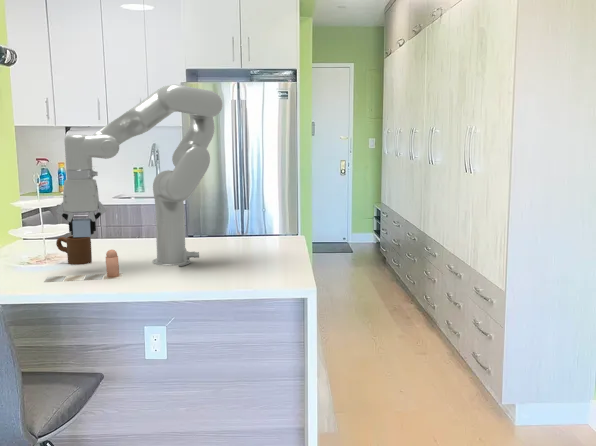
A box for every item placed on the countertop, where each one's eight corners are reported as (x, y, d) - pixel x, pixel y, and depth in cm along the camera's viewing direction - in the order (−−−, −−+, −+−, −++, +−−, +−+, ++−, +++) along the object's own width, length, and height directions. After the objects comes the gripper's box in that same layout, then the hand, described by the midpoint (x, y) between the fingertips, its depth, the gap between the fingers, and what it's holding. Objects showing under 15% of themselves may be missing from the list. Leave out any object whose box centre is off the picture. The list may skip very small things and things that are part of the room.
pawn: (119, 274, 174) (118, 248, 172) (118, 277, 170) (117, 250, 169) (107, 274, 173) (105, 248, 171) (106, 277, 169) (104, 251, 168)
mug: (51, 265, 187) (49, 237, 186) (64, 260, 195) (62, 234, 193) (84, 267, 185) (82, 239, 184) (96, 262, 193) (95, 235, 191)
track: (123, 275, 176) (123, 272, 175) (122, 281, 169) (122, 278, 169) (47, 279, 170) (47, 276, 170) (43, 285, 164) (42, 282, 163)
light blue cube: (92, 233, 178) (91, 218, 177) (90, 236, 173) (89, 220, 173) (75, 234, 177) (74, 218, 176) (73, 237, 172) (72, 221, 171)
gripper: (109, 174, 178) (112, 231, 181) (52, 174, 174) (55, 232, 177) (107, 176, 171) (110, 235, 174) (47, 176, 167) (51, 237, 169)
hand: (82, 233), depth 175 cm, fingers closed on light blue cube, 4 cm apart
